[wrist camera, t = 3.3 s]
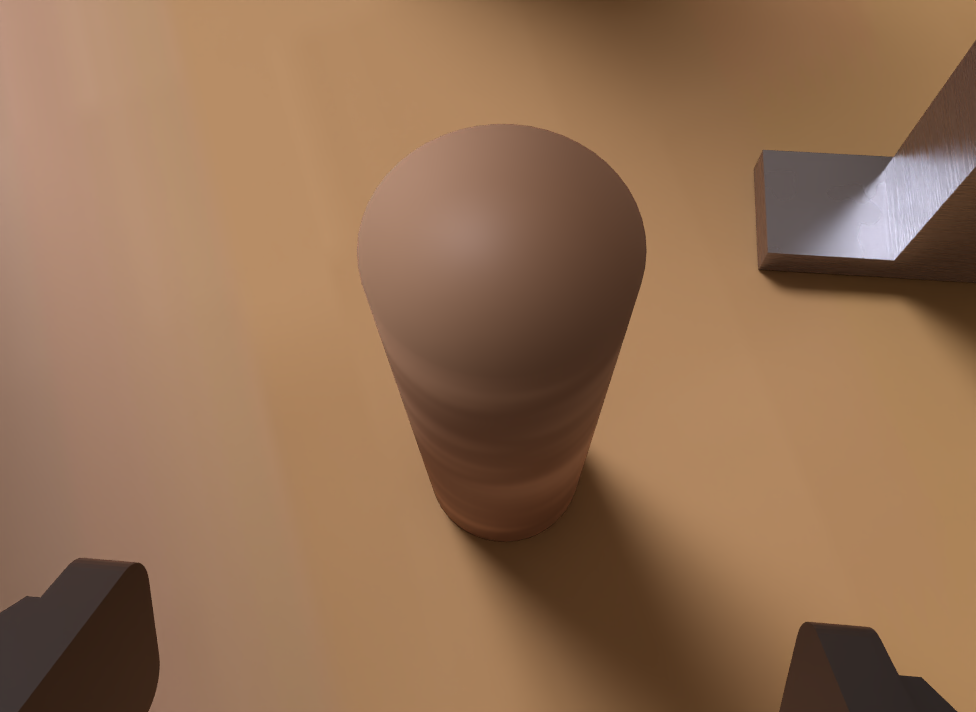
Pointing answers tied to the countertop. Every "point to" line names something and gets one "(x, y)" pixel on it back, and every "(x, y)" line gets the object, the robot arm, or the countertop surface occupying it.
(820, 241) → the keeper bracket
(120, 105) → the countertop surface
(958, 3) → the countertop surface
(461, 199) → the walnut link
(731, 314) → the countertop surface
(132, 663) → the robot arm
